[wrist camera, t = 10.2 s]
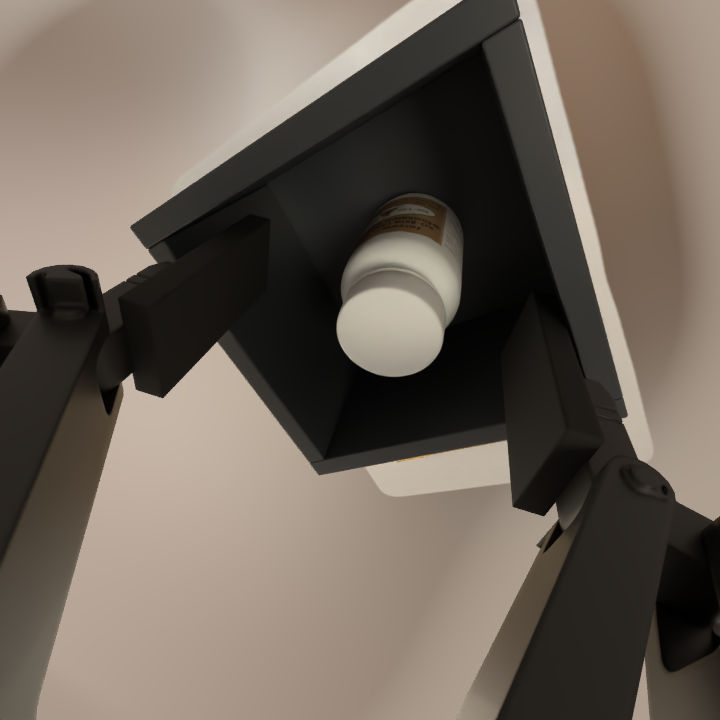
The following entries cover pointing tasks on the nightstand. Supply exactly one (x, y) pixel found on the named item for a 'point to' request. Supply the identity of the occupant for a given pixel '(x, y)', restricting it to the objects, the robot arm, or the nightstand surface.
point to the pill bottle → (402, 286)
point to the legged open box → (353, 214)
